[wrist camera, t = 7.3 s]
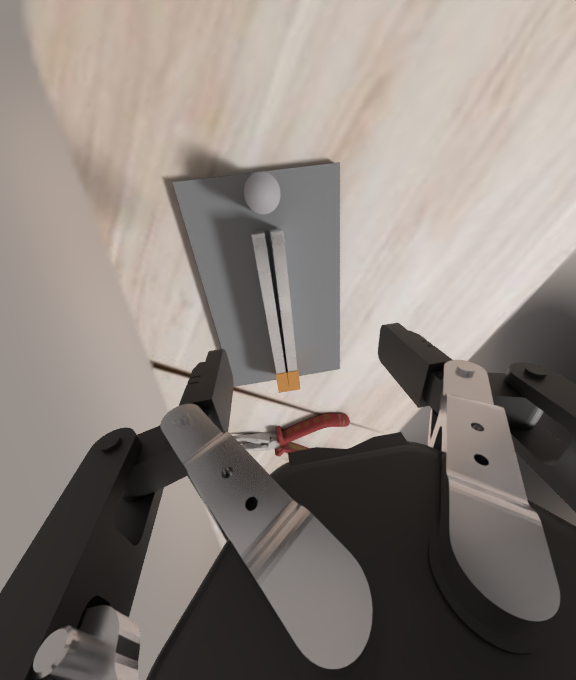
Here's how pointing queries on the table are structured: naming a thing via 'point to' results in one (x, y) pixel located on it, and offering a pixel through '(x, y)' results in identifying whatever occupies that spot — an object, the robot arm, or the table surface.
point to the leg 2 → (284, 305)
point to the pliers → (292, 434)
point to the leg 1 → (270, 308)
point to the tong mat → (241, 268)
